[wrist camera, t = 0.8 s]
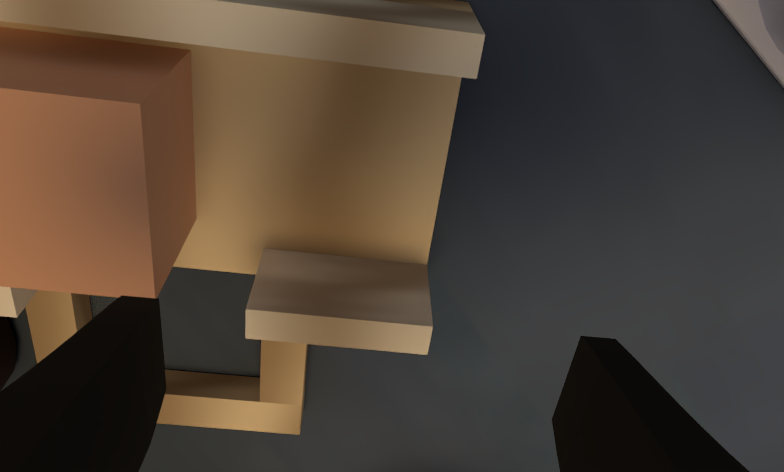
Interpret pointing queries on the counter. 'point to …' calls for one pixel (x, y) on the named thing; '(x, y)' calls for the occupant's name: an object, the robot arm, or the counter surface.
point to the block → (93, 163)
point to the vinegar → (6, 351)
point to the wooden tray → (293, 176)
